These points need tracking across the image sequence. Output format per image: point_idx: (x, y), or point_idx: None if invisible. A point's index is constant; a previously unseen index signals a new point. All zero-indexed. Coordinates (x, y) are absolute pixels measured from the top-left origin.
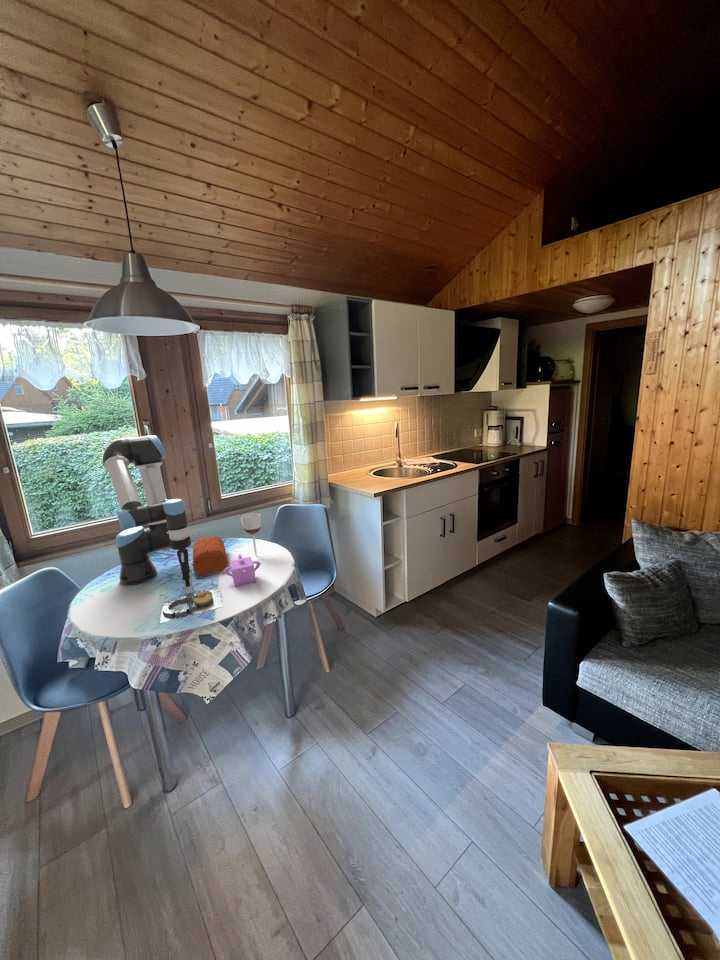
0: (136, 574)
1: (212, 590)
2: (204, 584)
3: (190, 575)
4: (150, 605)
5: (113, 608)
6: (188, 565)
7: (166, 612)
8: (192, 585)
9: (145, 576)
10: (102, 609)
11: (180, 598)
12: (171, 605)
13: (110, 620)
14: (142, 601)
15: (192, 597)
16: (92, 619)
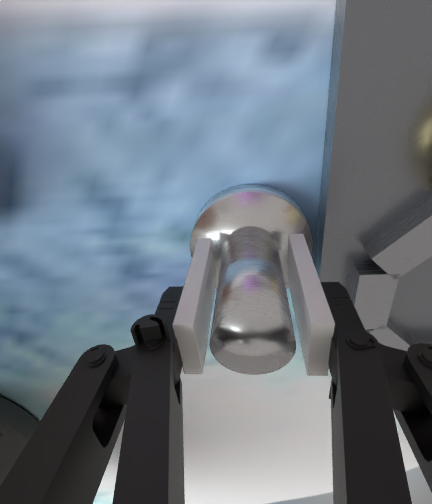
0: (8, 468)
1: (344, 63)
2: (121, 151)
3: (250, 319)
4: (266, 387)
5: (220, 462)
6: (169, 427)
7: None
8: (263, 253)
9: (4, 429)
10: (211, 478)
11: (373, 306)
12: (406, 337)
13: (309, 464)
14: (209, 408)
15: (427, 236)
16: (267, 489)
